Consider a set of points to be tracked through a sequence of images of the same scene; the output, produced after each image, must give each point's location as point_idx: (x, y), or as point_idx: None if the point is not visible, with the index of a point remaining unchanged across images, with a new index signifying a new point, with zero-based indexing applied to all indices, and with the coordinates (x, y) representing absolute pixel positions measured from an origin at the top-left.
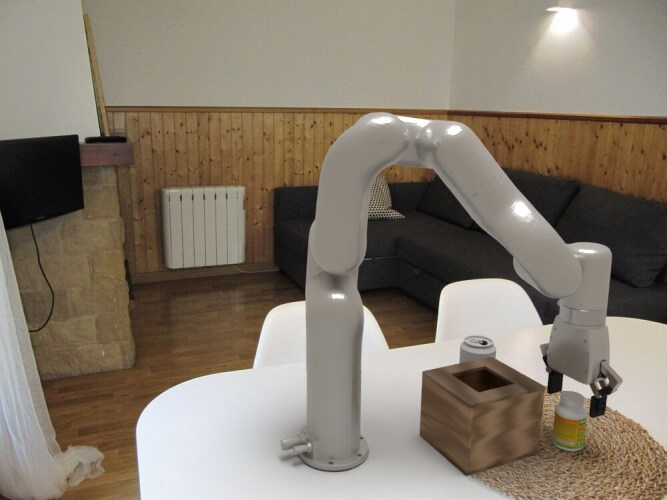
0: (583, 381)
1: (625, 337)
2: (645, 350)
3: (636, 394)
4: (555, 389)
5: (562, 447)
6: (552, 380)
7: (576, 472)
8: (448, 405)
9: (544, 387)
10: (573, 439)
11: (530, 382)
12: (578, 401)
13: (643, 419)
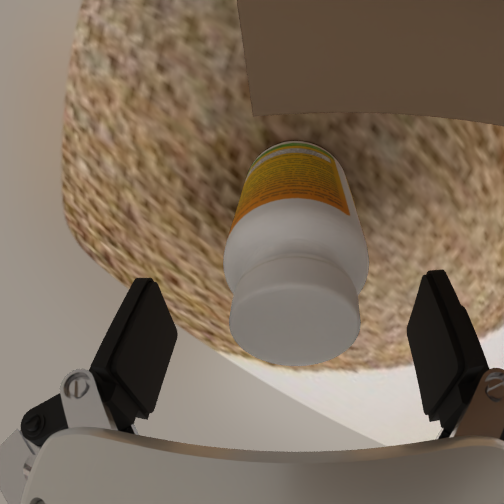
0: (69, 443)
1: None
2: None
3: (368, 410)
4: (421, 313)
5: (271, 148)
6: (446, 344)
7: (151, 106)
8: None
9: (258, 103)
10: (243, 187)
11: (493, 1)
12: (230, 318)
13: (304, 382)
